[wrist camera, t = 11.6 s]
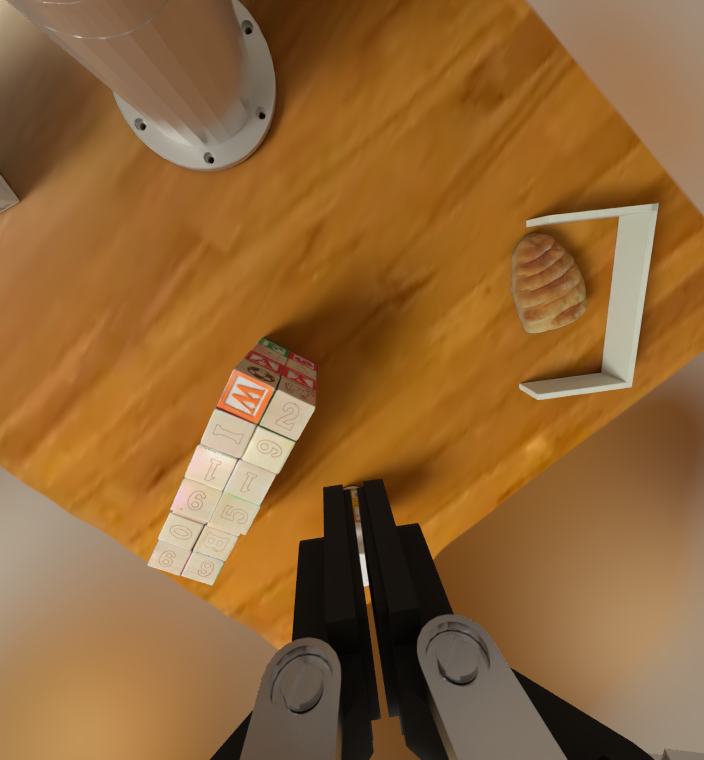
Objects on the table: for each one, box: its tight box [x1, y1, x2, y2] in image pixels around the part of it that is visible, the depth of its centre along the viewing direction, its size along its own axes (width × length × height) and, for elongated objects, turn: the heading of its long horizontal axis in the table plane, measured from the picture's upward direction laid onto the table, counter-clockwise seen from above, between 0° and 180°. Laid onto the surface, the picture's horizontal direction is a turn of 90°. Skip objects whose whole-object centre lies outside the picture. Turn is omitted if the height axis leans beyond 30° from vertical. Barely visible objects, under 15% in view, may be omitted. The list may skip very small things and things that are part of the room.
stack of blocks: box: [147, 338, 317, 585], centre depth 32 cm, size 21×6×12 cm, turn 151°
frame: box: [519, 203, 659, 400], centre depth 35 cm, size 17×10×4 cm, turn 6°
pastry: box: [511, 233, 588, 333], centre depth 34 cm, size 9×7×4 cm
